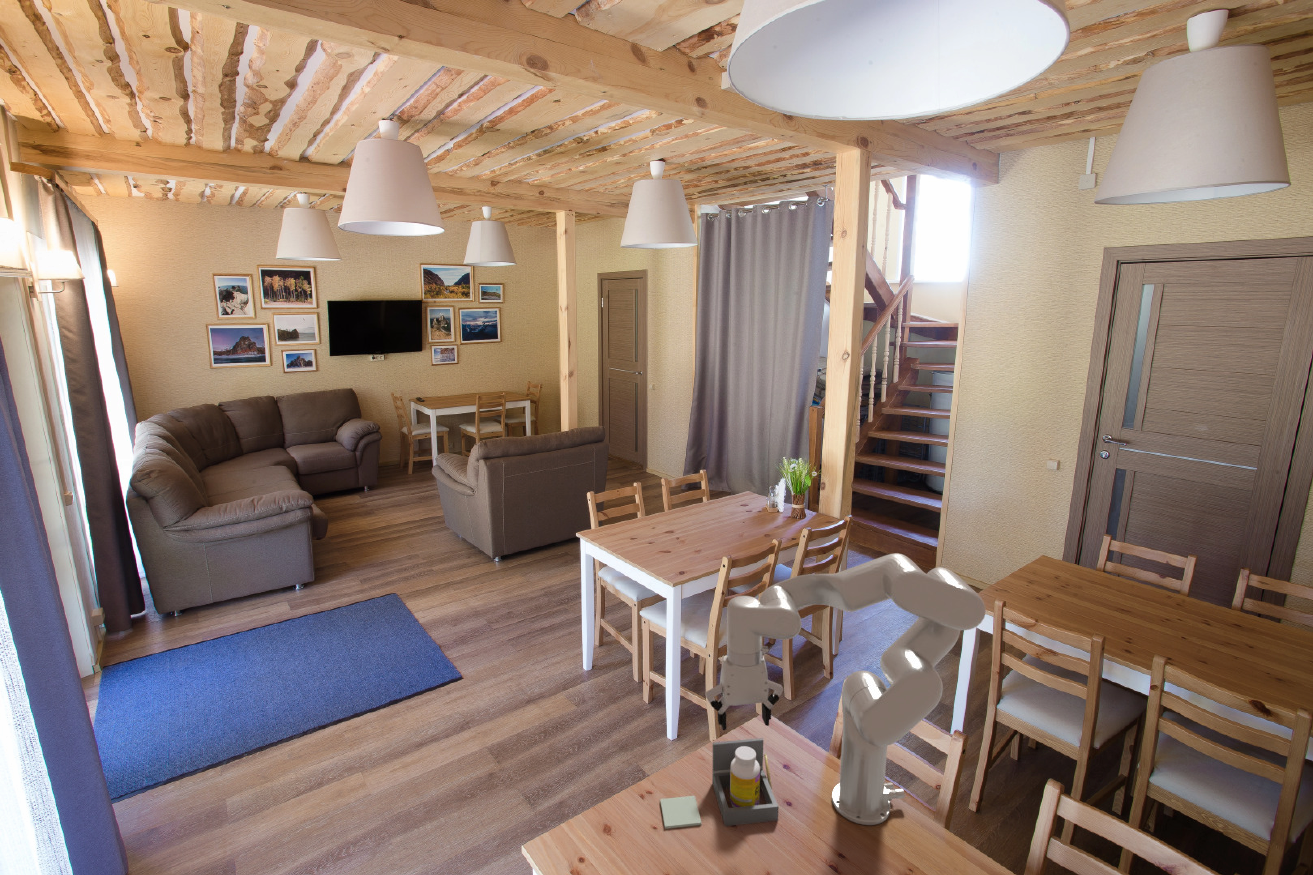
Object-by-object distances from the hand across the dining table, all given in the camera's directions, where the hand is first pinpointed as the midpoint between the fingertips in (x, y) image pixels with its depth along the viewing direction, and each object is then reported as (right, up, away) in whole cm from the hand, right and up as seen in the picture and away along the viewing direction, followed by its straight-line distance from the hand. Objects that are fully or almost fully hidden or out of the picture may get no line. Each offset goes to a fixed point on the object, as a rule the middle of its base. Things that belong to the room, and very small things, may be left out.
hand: (744, 724), depth 141 cm
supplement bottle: (+1, -20, +4) cm, 21 cm away
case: (+1, -20, +4) cm, 20 cm away
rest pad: (-14, -20, +1) cm, 25 cm away
